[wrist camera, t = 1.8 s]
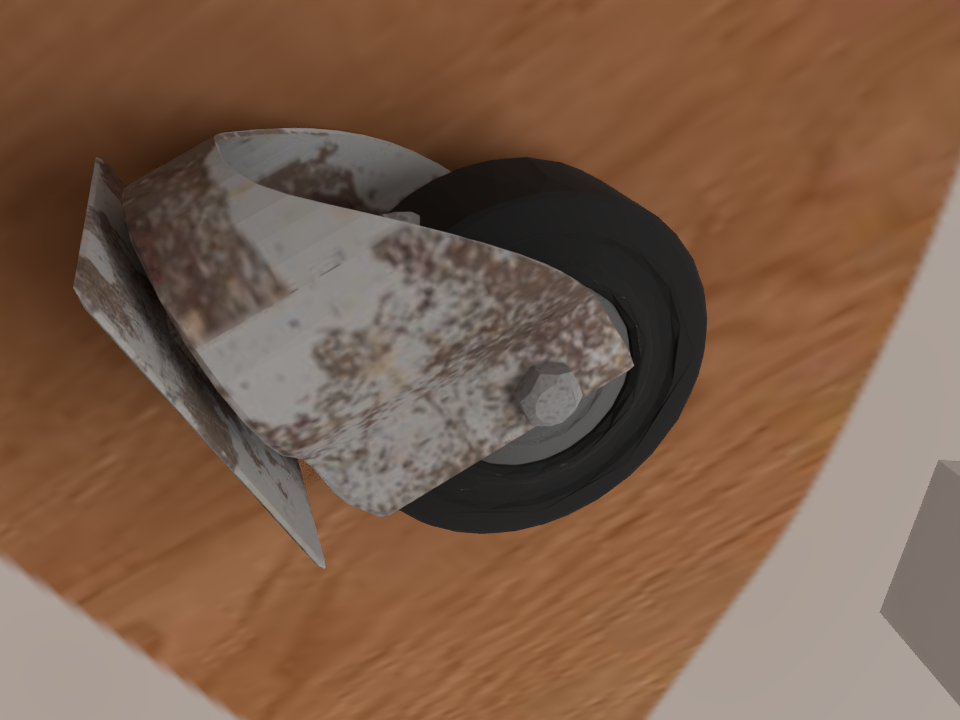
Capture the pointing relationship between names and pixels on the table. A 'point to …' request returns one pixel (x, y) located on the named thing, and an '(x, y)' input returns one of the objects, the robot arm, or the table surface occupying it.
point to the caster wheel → (398, 323)
